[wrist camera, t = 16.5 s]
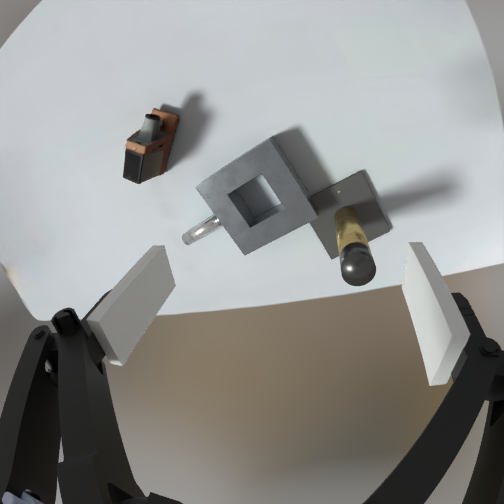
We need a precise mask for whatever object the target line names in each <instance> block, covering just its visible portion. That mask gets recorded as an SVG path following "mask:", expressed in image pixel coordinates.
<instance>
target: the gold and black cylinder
mask: <svg viewBox="0 0 504 504" xmlns="http://www.w3.org/2000/svg"><path fill="white" fill-rule="evenodd" d="M334 224H335V230H336V237H337V243H338V250H339V257H340V265H341V272H342V277H343V279H344V280H345V282H347V283H348V284H350V285H353V286H362V285H365V284H367V283H369V282H370V281H371V280H372V279H373V278H374V276H375V273H376V266H375V263H374V260H373V257H372V254H371V251H370V248H369V245H368V242H367V239H366V236H365V233H364V230H363V227H362V225H361V222H360V219H359V216H358V214H357V212H356V211H355V210H354V209H353V208H351V207H342V208H340V209H338V210H337V211H336V213H335V215H334Z"/></svg>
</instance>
